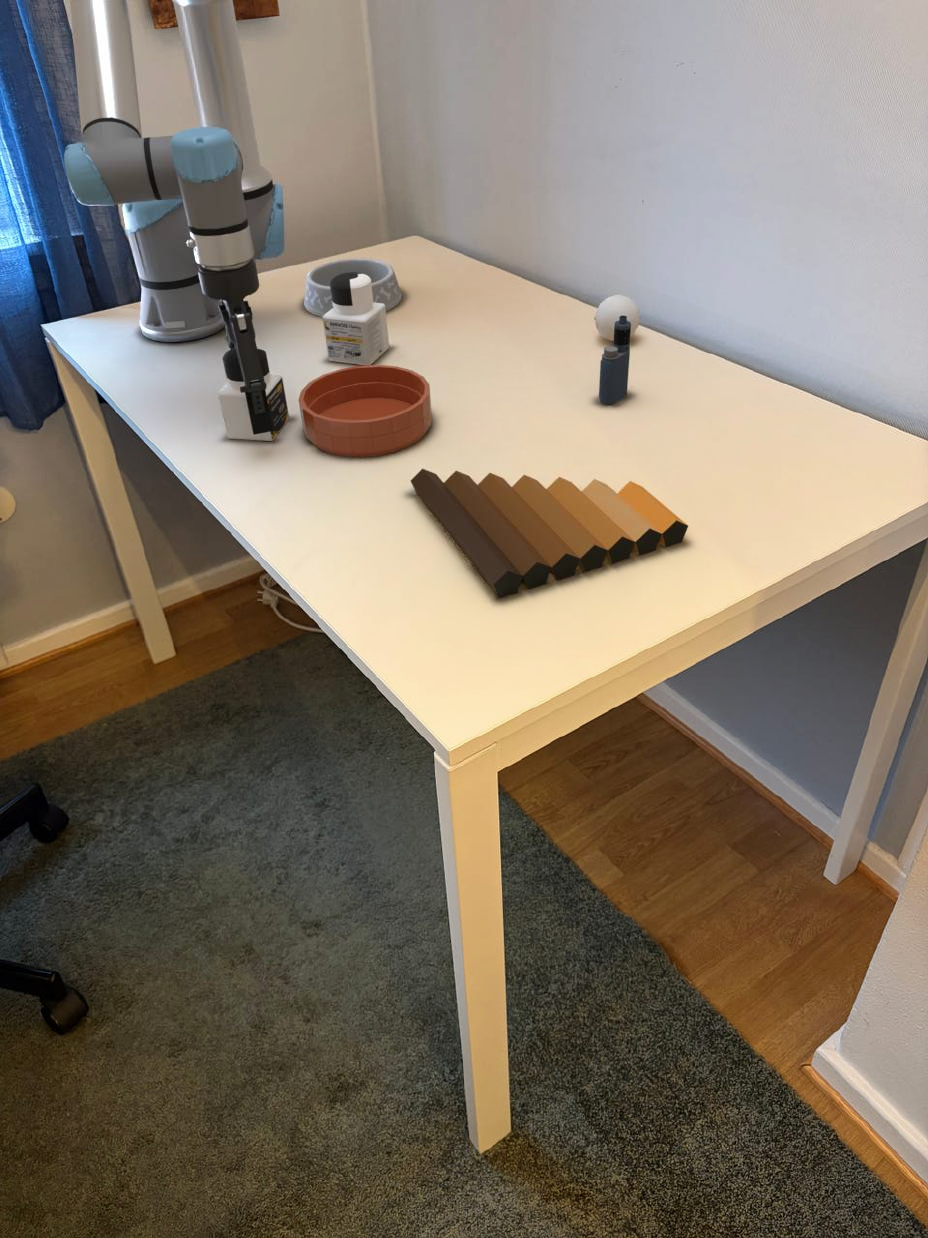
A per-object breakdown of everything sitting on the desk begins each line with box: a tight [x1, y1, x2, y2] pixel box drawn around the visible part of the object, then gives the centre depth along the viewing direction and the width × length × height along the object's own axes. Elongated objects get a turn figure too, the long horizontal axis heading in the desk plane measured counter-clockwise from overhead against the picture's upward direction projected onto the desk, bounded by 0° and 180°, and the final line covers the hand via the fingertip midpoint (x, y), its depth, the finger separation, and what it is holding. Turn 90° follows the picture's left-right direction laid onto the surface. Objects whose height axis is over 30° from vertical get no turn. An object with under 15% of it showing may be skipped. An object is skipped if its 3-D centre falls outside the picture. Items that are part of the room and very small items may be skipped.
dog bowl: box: [303, 257, 403, 318], centre depth 177 cm, size 17×18×5 cm
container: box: [322, 272, 390, 366], centre depth 155 cm, size 8×8×13 cm
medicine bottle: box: [217, 345, 290, 442], centre depth 135 cm, size 7×7×12 cm
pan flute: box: [410, 468, 689, 599], centre depth 116 cm, size 25×3×25 cm
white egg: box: [593, 294, 641, 342], centre depth 157 cm, size 10×7×7 cm
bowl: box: [297, 364, 433, 458], centre depth 136 cm, size 18×18×6 cm
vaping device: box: [598, 316, 631, 406], centre depth 138 cm, size 3×5×12 cm, turn 137°
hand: (255, 412), depth 137 cm, fingers open, 13 cm apart
